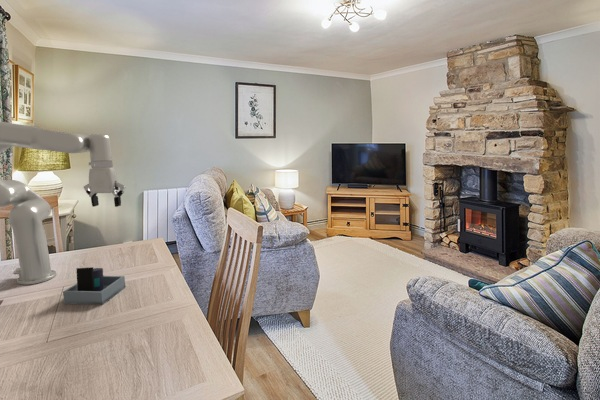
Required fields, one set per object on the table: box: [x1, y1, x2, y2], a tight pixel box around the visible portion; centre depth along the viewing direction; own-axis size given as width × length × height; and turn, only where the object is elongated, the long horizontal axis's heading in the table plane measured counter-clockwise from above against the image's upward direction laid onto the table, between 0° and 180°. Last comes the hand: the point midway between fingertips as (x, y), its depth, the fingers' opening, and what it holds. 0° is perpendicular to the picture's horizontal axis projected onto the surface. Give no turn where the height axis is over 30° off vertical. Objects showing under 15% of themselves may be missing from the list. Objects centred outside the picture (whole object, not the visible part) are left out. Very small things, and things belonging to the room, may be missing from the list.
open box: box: [62, 275, 127, 306], centre depth 119 cm, size 14×14×4 cm
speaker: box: [75, 266, 104, 291], centre depth 118 cm, size 8×6×10 cm
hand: (106, 206), depth 138 cm, fingers open, 9 cm apart
